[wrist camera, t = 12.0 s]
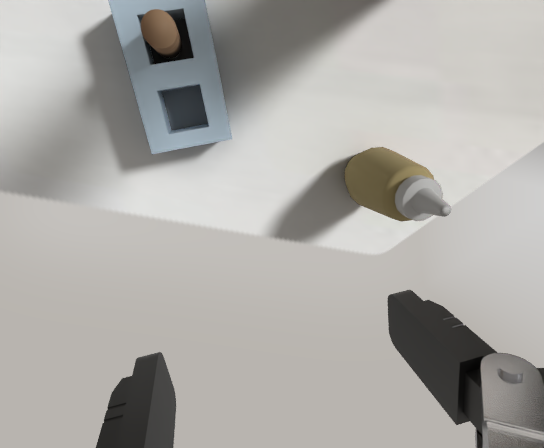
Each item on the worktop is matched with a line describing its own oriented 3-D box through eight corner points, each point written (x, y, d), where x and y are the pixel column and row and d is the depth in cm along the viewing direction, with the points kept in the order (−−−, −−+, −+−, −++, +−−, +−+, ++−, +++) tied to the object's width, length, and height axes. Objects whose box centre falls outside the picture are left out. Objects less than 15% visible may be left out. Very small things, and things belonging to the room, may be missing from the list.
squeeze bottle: (399, 177, 51) (495, 215, 35) (354, 211, 52) (428, 265, 35) (373, 131, 48) (465, 149, 32) (325, 167, 49) (391, 204, 32)
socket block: (201, -3, 39) (201, -16, 35) (229, 134, 45) (232, 138, 40) (118, 9, 38) (107, -3, 34) (156, 148, 44) (151, 154, 39)
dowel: (178, 27, 40) (171, 6, 31) (184, 56, 41) (180, 45, 32) (151, 31, 39) (136, 11, 30) (158, 60, 41) (146, 50, 31)
